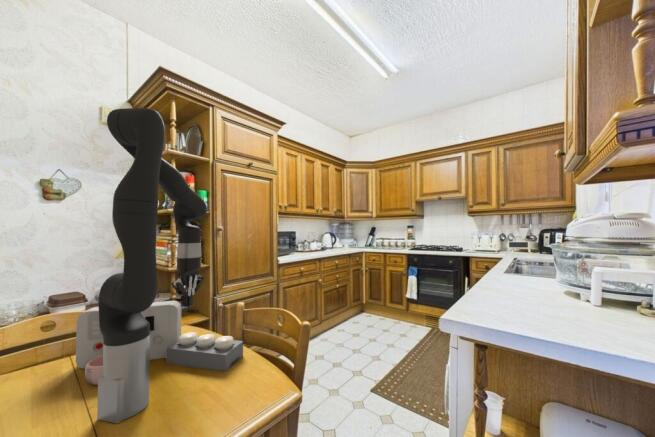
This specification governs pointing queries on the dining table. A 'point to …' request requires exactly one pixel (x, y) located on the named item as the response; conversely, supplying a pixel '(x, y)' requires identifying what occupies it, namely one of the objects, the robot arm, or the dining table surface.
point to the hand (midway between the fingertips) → (188, 306)
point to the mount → (204, 356)
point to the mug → (94, 370)
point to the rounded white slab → (158, 315)
